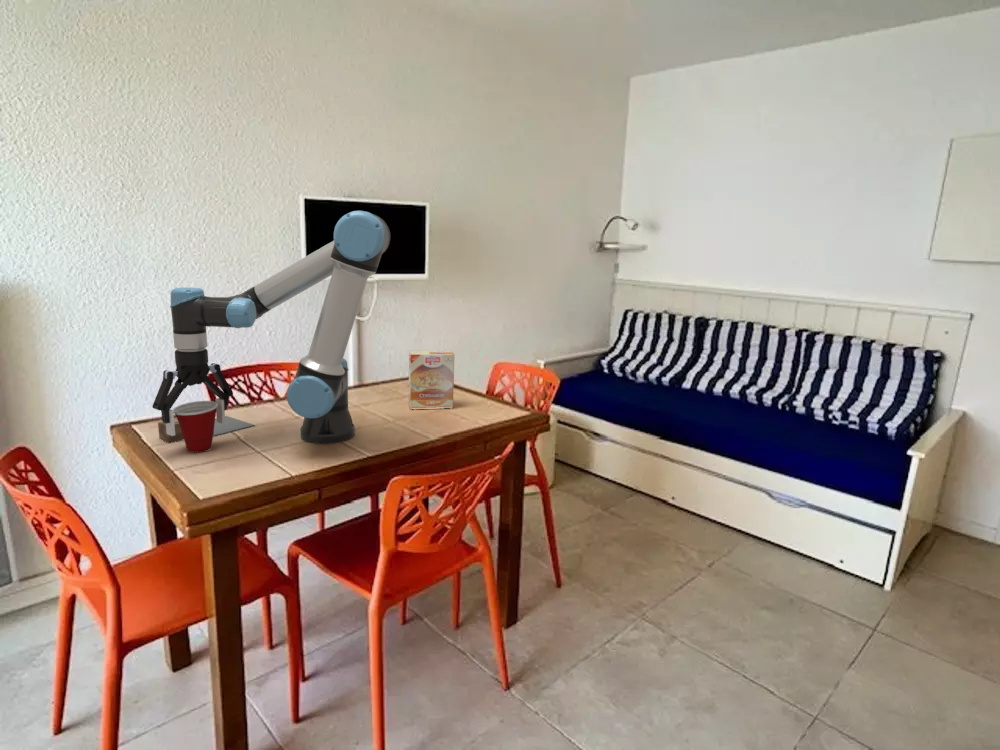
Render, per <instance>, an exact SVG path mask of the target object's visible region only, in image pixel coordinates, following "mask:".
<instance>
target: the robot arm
mask: <svg viewBox="0 0 1000 750" xmlns="http://www.w3.org/2000/svg"><path fill="white" fill-rule="evenodd" d="M390 241H391V232H390V227H389V226H388V225H387V223H386V222H385V220H384V219H383V218H381V217H380V216H379V215H377V214H374V213H371V212H369V211H364V210H353V211H350V212H348V213H346V214H344V215H343V216H341V217H340V218H339V220H338V221H337V223H336V224H335V226H334V231H333V240H332V241H331V242H329V243H327V244H325V245H324V246H321V247H320V248H319V249H316V250H314V251H313V252H311V253H309V254H308V255H306V256H304V257H303V258H301V259H300V260H298V261H296V262H294V263H293V264H291V265H289V266H287V267H286V268H284V269H282V270H280V271H278V272H277V273H275V274H274V275H272V276H270V277H268V278H266V279H264V280H262V281H261V282H260V283H258V284H255V285H254V286H252V287H250V288H248V289H247V290H245V291H243V292H241V293H239V294H236V295H232V296H227V297H226V296H225V297H222V296H221V297H219V296H217V297H216V296H213V297H212V296H206V295H205V292H204V289H202V288H201V287H175V288H173V289H172V290H171V291H170V310H171V318H172V319H171V321H172V333H173V334H172V335H173V348H174V349H176V350H175V351H174V361H175V366H176V368H175V370H170V371H169V370H167V369H165V370H164V371H163V372H162V375H163V376H162V381H161V384H160V386H159V388H158V391H157V394H156V396H155V399H154V401H153V403H152V408H153V409H154V410H157V411H161V422H162V421H163V423H166V432H167V434H168V435H171V436H175V424H174V419H175V414H174V412H173V410H172V407H173V406H174V404H176V401H177V400H178V398H179V397H180V395H181V394H182V392H183V391H184V390H185V389H186V388H187V387H188V386H190V387H192V386H195V385H202V384H204V385H205V386H206V387H207V388H208V389H209V390H210V391H211V392H212V393H214V394H215V396H217V398H215V399H214V400H215V401H214V402H217V403H218V407H217V409H216V416H215V417H216V418H217V422H219V423H222V424H223V423H225V415H226V412H225V411H227V409H228V404H227V401H228V400H229V399H230V396H234V392H233V390H232V388H231V386H230V385H229V383H228V381H227V380H226V377H225V376H224V375H223V372H222V371H221V365H220V364H218V363H214V362H212V363H211V364H210V365H209V364H208V363H209V351H208V349H207V347H208V338H207V327H217V328H235V329H240V328H242V329H243V328H252V326H254V323H255V322H256V320H258V319H259V318H261V317H262V316H263V315H265V314H267V313H268V312H269V311H271V310H273V309H275V308H276V307H278V306H280V305H282V304H283V303H285V302H287V301H289V300H291V299H292V298H294V297H295V296H297V295H299V294H301V293H303V292H305V291H306V290H308V289H310V288H311V287H313V286H315V285H317V284H319V283H320V282H322V281H324V280H326V279H327V278H329V277H330V279H329V283H328V286H327V290H326V293H325V297H324V300H323V304H322V307H321V310H320V314H319V317H318V321H317V323H316V327H315V330H314V333H313V337H312V341H311V344H310V346H309V351H308V354H307V355H305V356H304V357H301V358H300V360H299V363H298V365H297V370H296V372H295V377H294V378H293V379H292V380H291V382H290V383H289V384H288V387H287V391H286V401H287V403H288V406H290V408H291V410H292V411H293V412H294V413H295V414H296V415H298V416H300V417H302V418H303V420H302V421H303V422H302V424H301V426H300V427H301V428H300V431H299V432H300V439H302V440H303V441H305V442H308V443H313V444H337V443H340V442H341V443H342V442H345V441H348V440H350V439H352V438H353V437H354V436H355V433H356V428H355V425H354V422H353V419H352V416H351V413H350V411H349V367H348V360H346V358H344V355H345V353H346V350H347V347H348V344H349V340H350V338H351V334H352V331H353V328H354V324H355V322H356V318H357V314H358V311H359V308H360V305H361V301H362V299H363V295H364V291H365V288H366V285H367V282H368V279H369V277H371V276H372V275H375V274H376V273H377V270H378V267H379V263H380V261H381V258H382V255H383V254H384V253H385V252H386V251H387V249H388V248H389V246H390V243H391V242H390ZM209 373H212V376H213V377H214V379H215V380H216V382H217V384H218V385H216V384H215V382H213V380H212V379H211V377H209V376H208V375H209ZM176 377H177V379H176ZM175 379H176V380H175ZM174 380H175V383H174V385H173V382H174ZM172 385H173V387H172ZM171 388H172V389H171Z"/></svg>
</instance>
